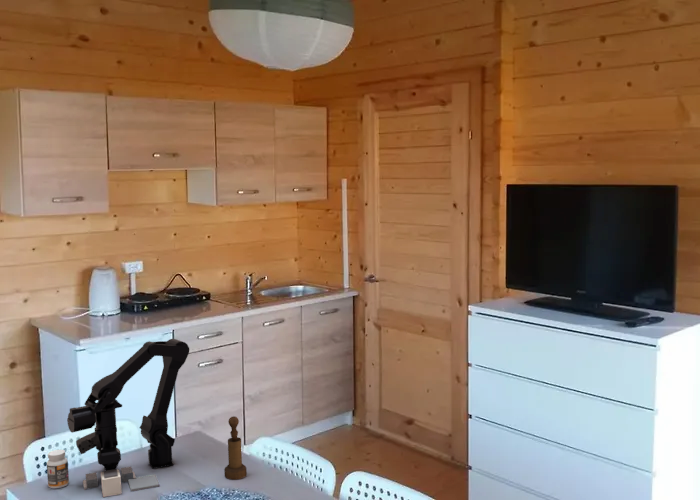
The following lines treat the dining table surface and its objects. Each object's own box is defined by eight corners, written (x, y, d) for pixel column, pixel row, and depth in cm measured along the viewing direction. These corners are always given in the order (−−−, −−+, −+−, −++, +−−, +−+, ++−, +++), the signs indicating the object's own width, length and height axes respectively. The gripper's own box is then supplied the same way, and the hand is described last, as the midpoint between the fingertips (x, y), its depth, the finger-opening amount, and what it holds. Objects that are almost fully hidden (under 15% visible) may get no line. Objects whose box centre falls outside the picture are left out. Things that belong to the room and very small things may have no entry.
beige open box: (119, 485, 211) (118, 467, 211) (121, 493, 206) (120, 475, 205) (101, 488, 209) (100, 470, 209) (103, 497, 204) (101, 478, 203)
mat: (155, 476, 218) (155, 474, 218) (159, 486, 210) (159, 484, 210) (128, 480, 215) (127, 479, 214) (130, 491, 207) (130, 489, 207)
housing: (134, 473, 220) (133, 465, 220) (136, 480, 215) (135, 472, 214) (83, 482, 214) (82, 474, 214) (84, 489, 209) (83, 481, 209)
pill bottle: (61, 489, 209) (59, 456, 208) (44, 488, 211) (41, 455, 210) (73, 481, 215) (70, 449, 214) (55, 480, 216) (53, 448, 215)
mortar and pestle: (251, 473, 218) (248, 415, 217) (239, 481, 213) (236, 421, 211) (232, 469, 221) (230, 412, 219) (220, 477, 215) (217, 419, 213)
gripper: (75, 418, 220) (78, 468, 222) (78, 438, 203) (81, 492, 205) (114, 413, 224) (117, 461, 226) (119, 432, 207) (122, 485, 209)
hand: (108, 474), depth 216 cm, fingers open, 8 cm apart
